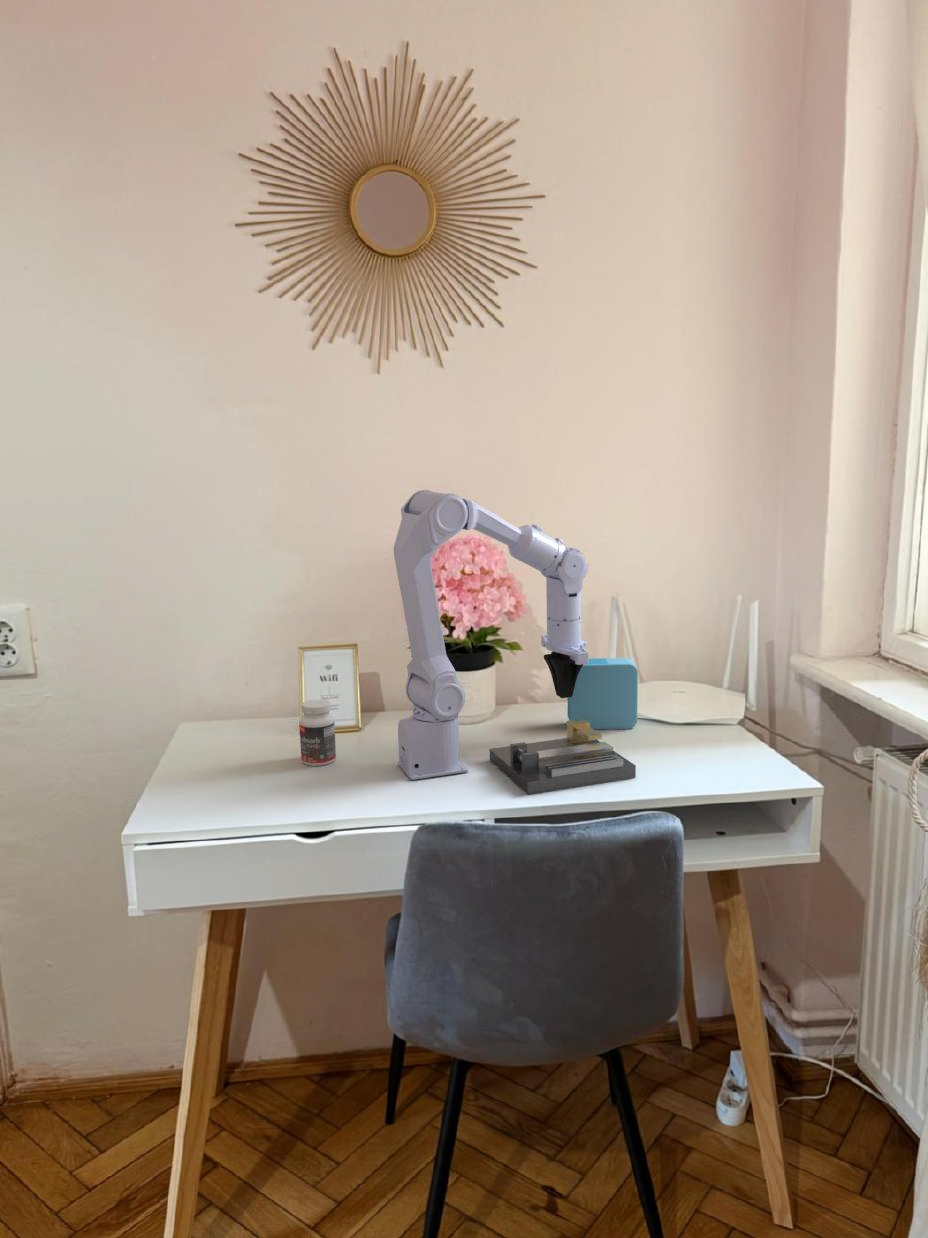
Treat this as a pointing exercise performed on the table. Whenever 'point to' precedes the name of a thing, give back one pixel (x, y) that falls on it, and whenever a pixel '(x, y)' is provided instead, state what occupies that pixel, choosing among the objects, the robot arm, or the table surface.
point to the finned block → (559, 766)
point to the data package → (606, 694)
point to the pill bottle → (317, 733)
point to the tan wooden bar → (571, 751)
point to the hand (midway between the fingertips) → (564, 696)
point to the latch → (581, 731)
